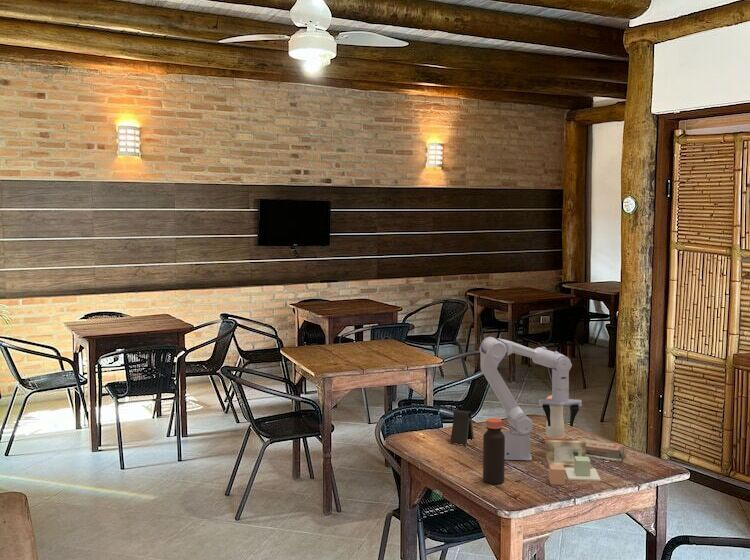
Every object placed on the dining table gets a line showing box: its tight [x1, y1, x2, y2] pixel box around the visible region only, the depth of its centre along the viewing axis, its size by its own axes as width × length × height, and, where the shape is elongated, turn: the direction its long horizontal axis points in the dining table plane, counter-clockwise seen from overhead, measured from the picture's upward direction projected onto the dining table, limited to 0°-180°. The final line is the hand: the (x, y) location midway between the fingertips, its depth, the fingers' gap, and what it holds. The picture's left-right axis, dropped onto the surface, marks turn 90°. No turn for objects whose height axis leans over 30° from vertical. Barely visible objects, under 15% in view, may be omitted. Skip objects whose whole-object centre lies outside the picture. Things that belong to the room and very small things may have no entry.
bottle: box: [482, 417, 506, 485], centre depth 237 cm, size 7×7×20 cm
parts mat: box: [564, 467, 602, 482], centre depth 243 cm, size 10×10×1 cm
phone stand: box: [449, 408, 475, 446], centre depth 278 cm, size 9×6×12 cm, turn 151°
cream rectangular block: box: [553, 444, 582, 463], centre depth 253 cm, size 9×5×5 cm, turn 83°
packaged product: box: [576, 438, 627, 463], centre depth 263 cm, size 18×5×10 cm
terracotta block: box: [548, 464, 566, 486], centre depth 237 cm, size 4×4×5 cm
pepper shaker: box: [544, 394, 566, 446], centre depth 273 cm, size 7×7×19 cm
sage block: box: [574, 456, 591, 476], centre depth 242 cm, size 4×4×5 cm
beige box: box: [545, 440, 586, 468], centre depth 253 cm, size 13×8×7 cm, turn 83°
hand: (560, 425), depth 262 cm, fingers open, 7 cm apart
